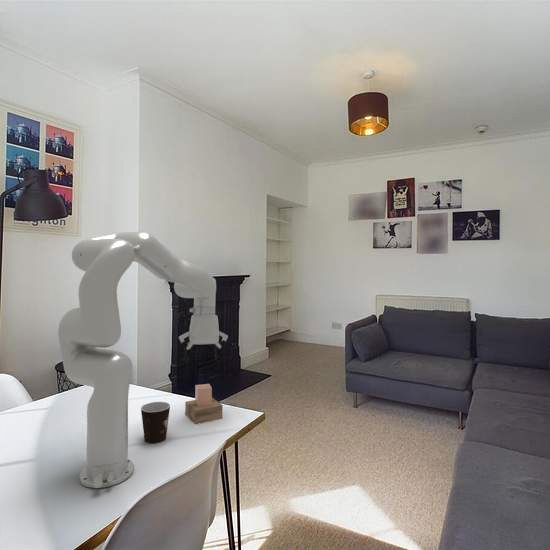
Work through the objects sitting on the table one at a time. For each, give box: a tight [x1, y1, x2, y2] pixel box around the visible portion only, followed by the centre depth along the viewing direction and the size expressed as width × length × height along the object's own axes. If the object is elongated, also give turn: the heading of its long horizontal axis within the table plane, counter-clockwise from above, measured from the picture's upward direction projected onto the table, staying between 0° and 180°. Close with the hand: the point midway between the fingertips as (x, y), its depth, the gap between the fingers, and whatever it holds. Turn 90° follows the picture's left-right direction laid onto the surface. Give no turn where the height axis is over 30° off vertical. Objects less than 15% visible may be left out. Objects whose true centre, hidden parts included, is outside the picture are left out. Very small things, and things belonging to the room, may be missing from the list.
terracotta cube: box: [194, 383, 213, 406], centre depth 132 cm, size 5×5×6 cm
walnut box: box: [184, 397, 223, 425], centre depth 132 cm, size 10×10×5 cm
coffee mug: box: [140, 401, 171, 445], centre depth 113 cm, size 12×9×10 cm
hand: (203, 359), depth 131 cm, fingers open, 9 cm apart
